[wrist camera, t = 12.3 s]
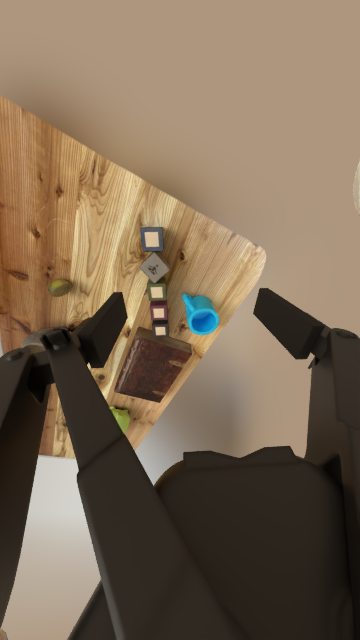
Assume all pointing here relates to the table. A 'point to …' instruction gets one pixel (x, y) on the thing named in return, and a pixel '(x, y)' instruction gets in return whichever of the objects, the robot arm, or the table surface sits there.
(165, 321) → the block
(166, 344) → the hardback book
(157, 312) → the block
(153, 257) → the dice cube
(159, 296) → the block
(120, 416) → the teapot
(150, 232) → the block
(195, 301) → the mug
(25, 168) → the table surface
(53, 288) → the lime
